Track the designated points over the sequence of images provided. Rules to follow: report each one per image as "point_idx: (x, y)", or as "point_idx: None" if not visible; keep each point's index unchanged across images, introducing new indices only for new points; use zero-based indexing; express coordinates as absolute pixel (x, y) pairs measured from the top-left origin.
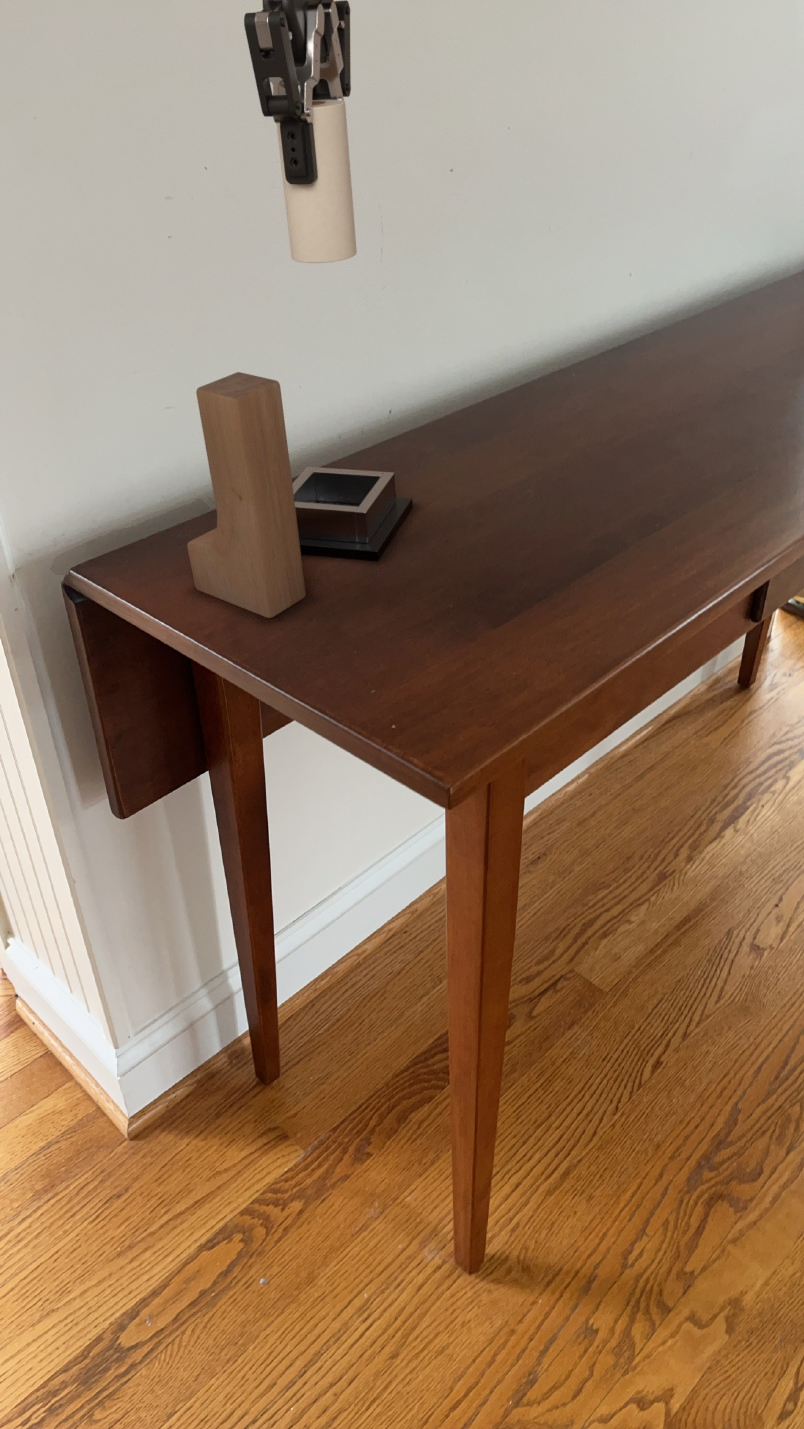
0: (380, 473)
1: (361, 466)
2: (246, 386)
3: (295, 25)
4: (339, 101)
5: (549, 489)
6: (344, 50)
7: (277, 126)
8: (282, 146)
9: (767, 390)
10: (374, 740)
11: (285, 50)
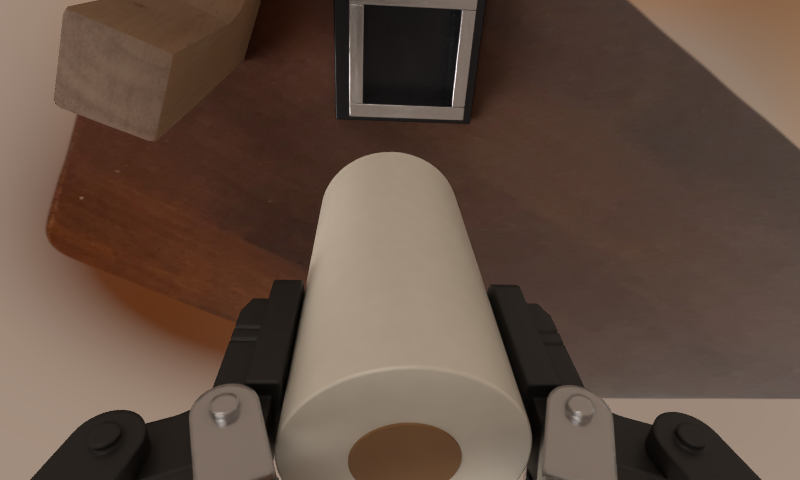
0: (458, 104)
1: (593, 21)
2: (103, 102)
3: None
4: None
5: (516, 242)
6: None
7: (332, 339)
8: (258, 337)
9: (734, 383)
10: (57, 189)
11: None
